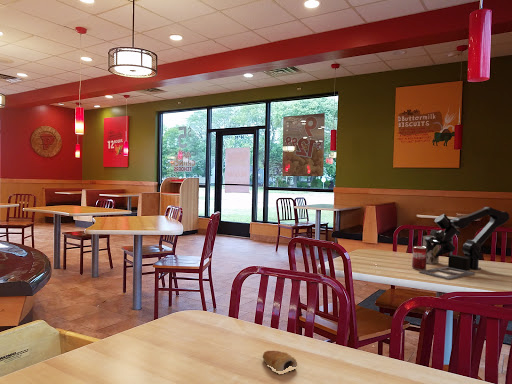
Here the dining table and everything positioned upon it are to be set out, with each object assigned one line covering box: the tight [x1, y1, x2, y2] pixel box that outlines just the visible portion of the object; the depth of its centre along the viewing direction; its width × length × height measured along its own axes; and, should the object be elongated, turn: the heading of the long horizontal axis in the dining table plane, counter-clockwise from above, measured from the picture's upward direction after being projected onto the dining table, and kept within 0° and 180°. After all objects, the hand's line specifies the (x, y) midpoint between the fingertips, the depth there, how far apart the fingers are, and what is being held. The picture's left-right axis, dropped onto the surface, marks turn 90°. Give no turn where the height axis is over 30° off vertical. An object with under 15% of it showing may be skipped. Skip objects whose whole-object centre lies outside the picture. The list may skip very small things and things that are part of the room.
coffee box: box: [422, 234, 440, 265], centre depth 232 cm, size 9×6×16 cm
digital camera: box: [447, 254, 471, 271], centre depth 219 cm, size 10×5×7 cm, turn 35°
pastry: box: [262, 350, 298, 371], centre depth 96 cm, size 9×7×4 cm
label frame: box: [418, 266, 476, 281], centre depth 205 cm, size 26×16×1 cm, turn 125°
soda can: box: [411, 245, 427, 271], centre depth 214 cm, size 7×7×12 cm
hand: (430, 254), depth 215 cm, fingers open, 9 cm apart
